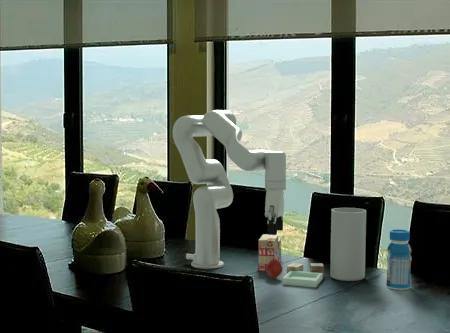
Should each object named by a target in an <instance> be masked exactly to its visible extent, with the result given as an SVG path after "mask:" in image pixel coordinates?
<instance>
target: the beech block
mask: <svg viewBox="0 0 450 333" xmlns="http://www.w3.org/2000/svg"><path fill="white" fill-rule="evenodd" d="M289 271H301V272H304V263H297V262H293V263H291V264H288V265H286V274H287V273H288V272H289Z"/></svg>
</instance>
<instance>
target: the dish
mask: <svg viewBox="0 0 450 333" xmlns="http://www.w3.org/2000/svg"><path fill="white" fill-rule="evenodd" d="M323 279H324V273H313V272H310V271H303V272H301V271H289V272H288V273H287V272H286V274H285V275H283V277H282V285H283V286H292V287H293V286H294V287H305V288H318V286H319V285H320V283H321V282H322V281H323Z"/></svg>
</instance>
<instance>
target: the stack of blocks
mask: <svg viewBox="0 0 450 333" xmlns="http://www.w3.org/2000/svg"><path fill="white" fill-rule="evenodd" d="M257 252H258V254H257V256H258V262H257V264H258V265H257V271H258V272H267V271H266V266H267V264H268V263H269V261H271V260H272V259H273V258H274V257H275V258H276V260H278V261H279V262H280V263H281V261H282V238H280V237H279V234H276V235H268V234H267V233H265V234H264V233H263V234H262V235H261V236H260V238H259V239H258V249H257ZM280 260H281V261H280Z"/></svg>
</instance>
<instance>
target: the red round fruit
mask: <svg viewBox="0 0 450 333" xmlns="http://www.w3.org/2000/svg"><path fill="white" fill-rule="evenodd" d="M265 272H267V275H268V276H270V277H271V279H273V280H275V279H277V278H278V277H280V275H282V273H283V266H282V263H281V261H280V262H279V261H278V260H276V258H275V257H274V258H273V259H272V260H271V261H269V263H268V264H267V266H266V271H265Z"/></svg>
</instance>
